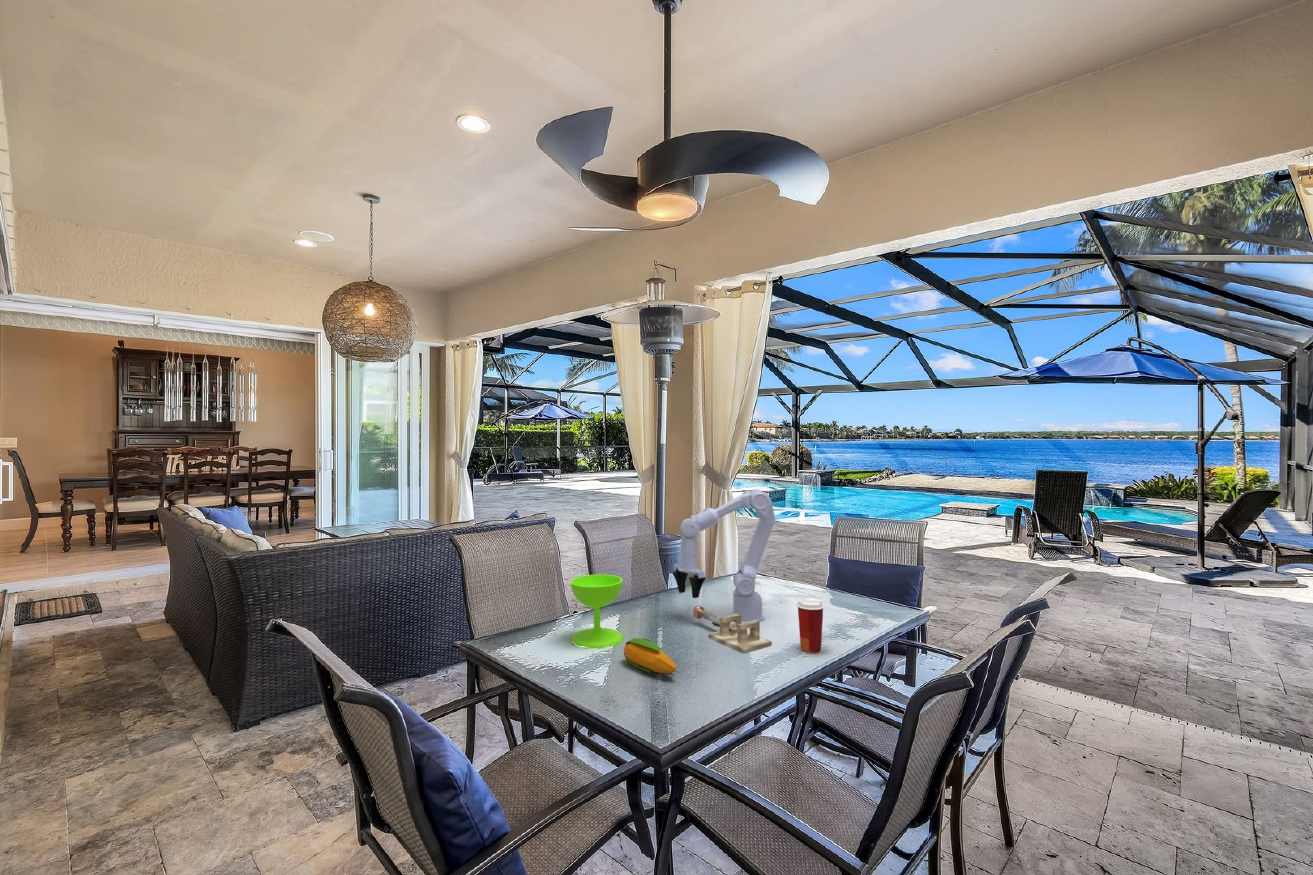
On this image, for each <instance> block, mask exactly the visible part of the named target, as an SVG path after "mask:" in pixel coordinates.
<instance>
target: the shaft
mask: <svg viewBox="0 0 1313 875" xmlns="http://www.w3.org/2000/svg"><path fill="white" fill-rule="evenodd" d="M692 615H693V617H694V618H695V619H698V620H700V619H702V618H703V619H705V620H708V621H709V622H712V623H715V624H716V625H717V624H718V625H719V626H720V618H721V617H722V616H720V615H717V614H715V613H713V612H709V611H708V610H705V608H704V607H703V606H701V605H696V606H695V607H694V609H693V610H692ZM737 625H738V624H737V623H736V622H734V621H729V629H732V630H736V629H737Z"/></svg>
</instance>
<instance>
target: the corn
mask: <svg viewBox="0 0 1313 875" xmlns="http://www.w3.org/2000/svg"><path fill="white" fill-rule="evenodd" d="M622 651H623V655H624V658H625V659H626V660H627V661H628V663H629V664H631V665H633V667H635V668H637V669H639V670H642V671H645V672H646V673H649V674H652V675H653V674H654V673H652V672H655V673H658V674H673V673H675V672H676V669H677V665H676V663H675V662H674V661H673V660H672V659H671V658H670V657H669V656H668V655H667V654H666V653H665V652H664V651H662V648H661V647H660V646H659V645H657V644H656V643H655V642H653V641H651V640H649V639H646V638H641V637H635V638H631V639H630V640H628V641H627V642H625V645H624V647H623V649H622Z"/></svg>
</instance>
